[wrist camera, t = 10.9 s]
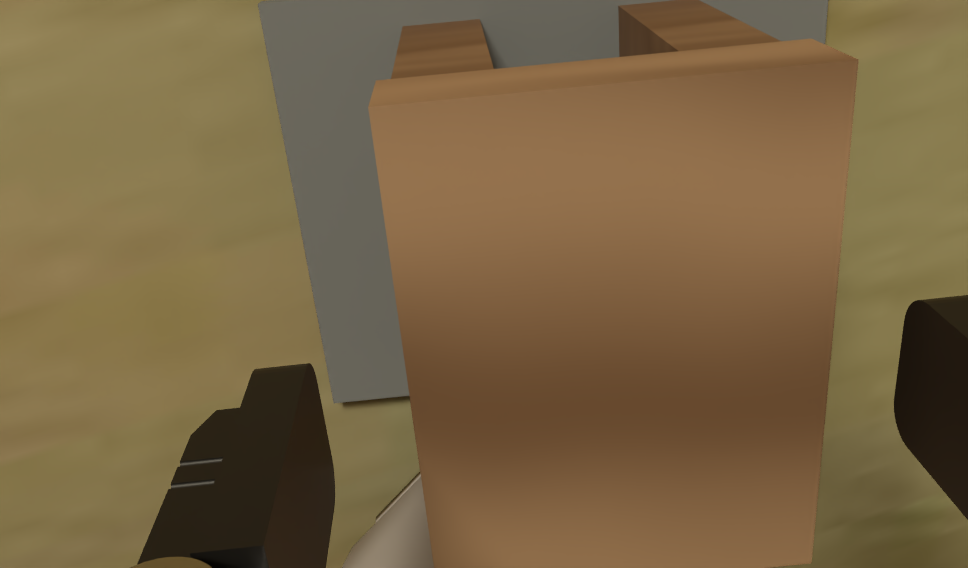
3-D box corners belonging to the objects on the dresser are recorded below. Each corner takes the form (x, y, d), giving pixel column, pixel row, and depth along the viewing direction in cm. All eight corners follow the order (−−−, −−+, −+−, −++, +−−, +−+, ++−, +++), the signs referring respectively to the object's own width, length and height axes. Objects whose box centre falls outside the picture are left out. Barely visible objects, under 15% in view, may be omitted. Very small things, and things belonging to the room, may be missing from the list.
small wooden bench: (394, 19, 17) (368, 107, 11) (702, -11, 17) (859, 59, 11) (438, 374, 21) (438, 600, 14) (696, 349, 21) (811, 563, 14)
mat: (335, 393, 21) (333, 403, 21) (261, 1, 17) (257, 4, 17) (795, 347, 21) (801, 355, 21) (823, -55, 17) (831, -53, 17)
